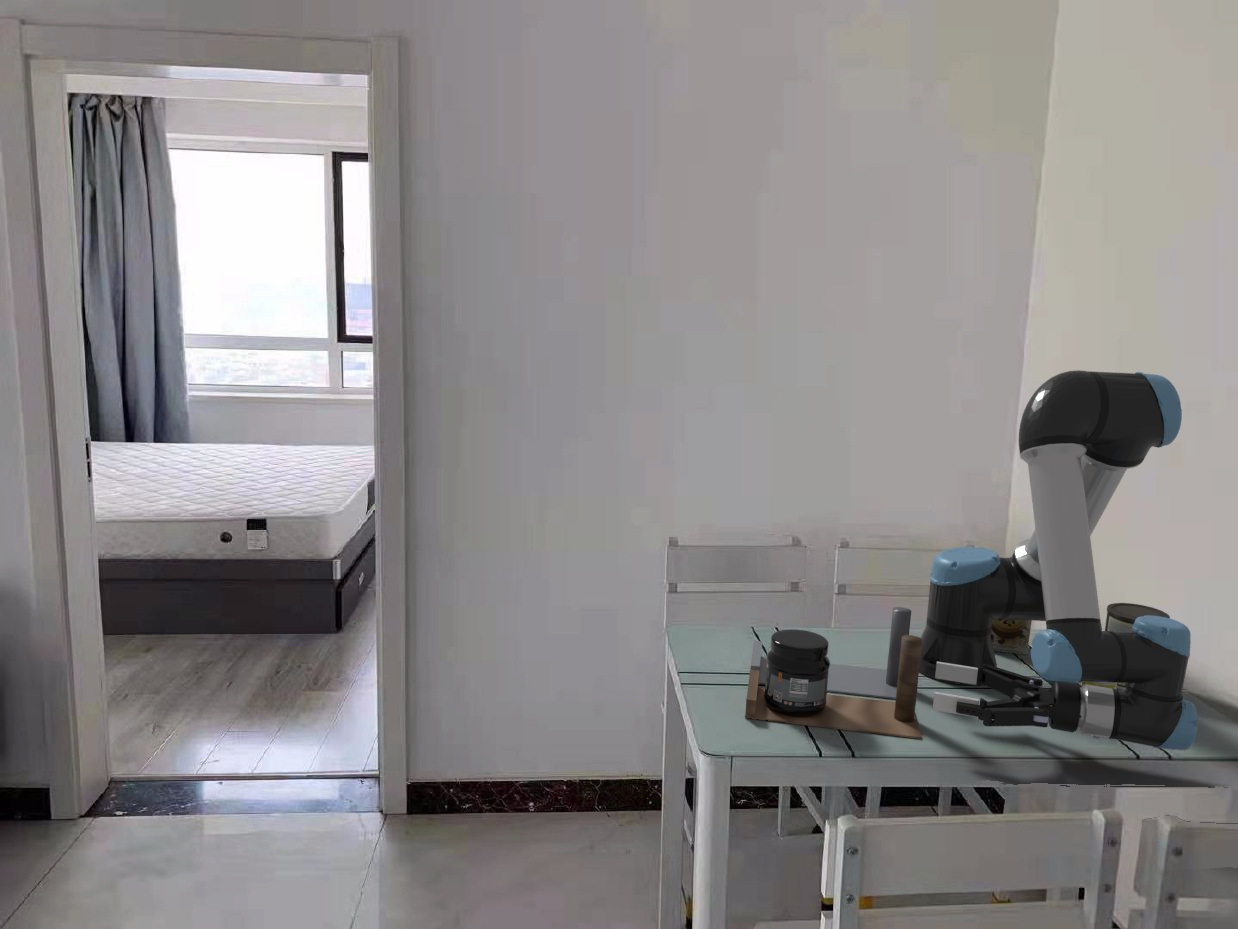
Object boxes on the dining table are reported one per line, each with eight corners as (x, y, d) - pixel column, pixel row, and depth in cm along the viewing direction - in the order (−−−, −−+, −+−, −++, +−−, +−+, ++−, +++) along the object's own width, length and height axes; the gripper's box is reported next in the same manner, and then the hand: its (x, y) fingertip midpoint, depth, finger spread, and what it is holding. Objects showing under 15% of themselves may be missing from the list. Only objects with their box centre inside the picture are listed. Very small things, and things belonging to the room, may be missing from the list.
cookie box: (980, 650, 191) (989, 573, 189) (976, 639, 198) (984, 565, 195) (1028, 655, 189) (1038, 578, 187) (1022, 644, 196) (1031, 569, 193)
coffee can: (1088, 670, 183) (1098, 600, 181) (1144, 674, 182) (1154, 604, 180) (1110, 691, 173) (1121, 618, 170) (1169, 696, 172) (1180, 622, 170)
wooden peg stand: (911, 705, 163) (919, 626, 160) (921, 739, 150) (930, 654, 148) (749, 687, 168) (754, 610, 165) (745, 718, 155) (750, 635, 153)
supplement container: (797, 689, 167) (802, 624, 165) (839, 712, 158) (845, 644, 156) (750, 699, 162) (755, 633, 160) (790, 724, 153) (796, 654, 151)
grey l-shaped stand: (902, 672, 177) (909, 600, 175) (910, 700, 165) (918, 622, 162) (752, 656, 182) (757, 585, 180) (749, 683, 170) (754, 607, 167)
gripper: (1085, 767, 135) (930, 738, 141) (1067, 700, 158) (934, 678, 165) (1092, 718, 133) (934, 691, 140) (1073, 658, 156) (938, 637, 163)
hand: (934, 684), depth 152 cm, fingers open, 13 cm apart
